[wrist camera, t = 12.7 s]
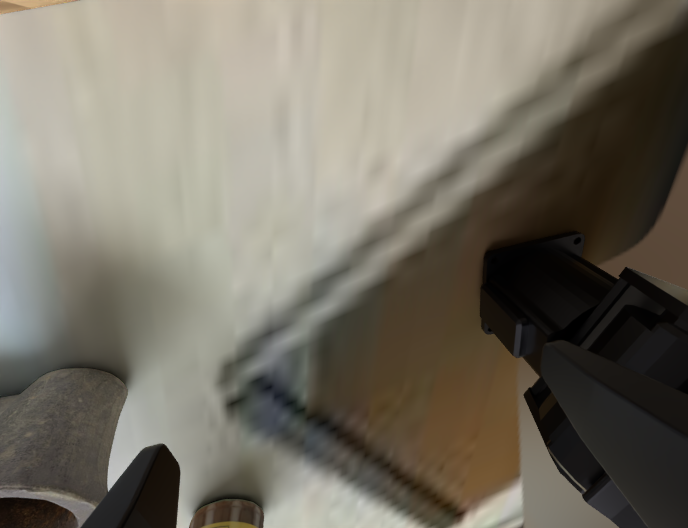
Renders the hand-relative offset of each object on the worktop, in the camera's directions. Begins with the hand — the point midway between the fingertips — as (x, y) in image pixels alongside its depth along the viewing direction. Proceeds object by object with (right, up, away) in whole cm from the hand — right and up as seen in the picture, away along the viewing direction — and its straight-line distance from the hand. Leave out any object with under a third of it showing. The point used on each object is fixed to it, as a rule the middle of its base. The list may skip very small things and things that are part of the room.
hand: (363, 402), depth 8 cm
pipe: (-19, -5, +14) cm, 24 cm away
